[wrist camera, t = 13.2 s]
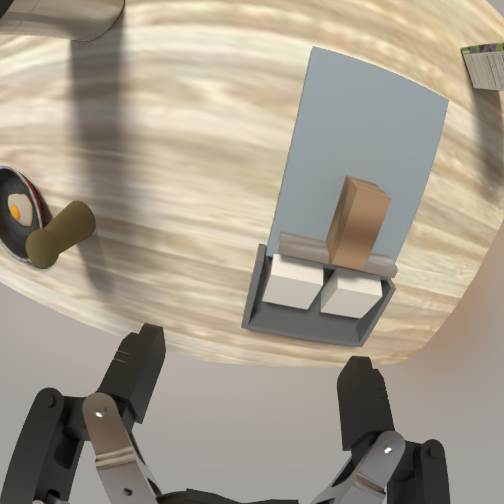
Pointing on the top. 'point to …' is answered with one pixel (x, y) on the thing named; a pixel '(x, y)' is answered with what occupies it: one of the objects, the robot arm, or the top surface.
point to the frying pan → (18, 212)
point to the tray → (308, 312)
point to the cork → (60, 234)
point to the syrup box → (485, 65)
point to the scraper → (348, 232)
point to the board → (357, 148)
